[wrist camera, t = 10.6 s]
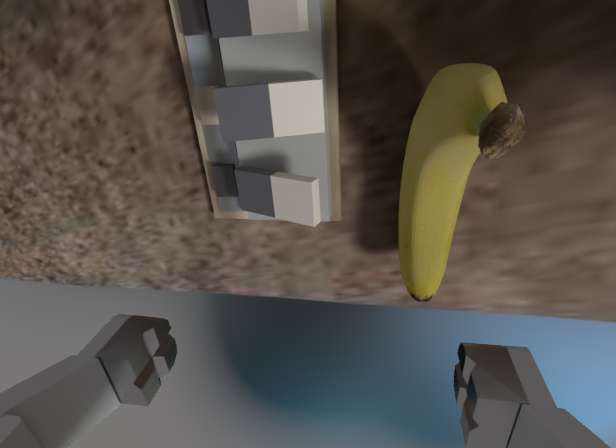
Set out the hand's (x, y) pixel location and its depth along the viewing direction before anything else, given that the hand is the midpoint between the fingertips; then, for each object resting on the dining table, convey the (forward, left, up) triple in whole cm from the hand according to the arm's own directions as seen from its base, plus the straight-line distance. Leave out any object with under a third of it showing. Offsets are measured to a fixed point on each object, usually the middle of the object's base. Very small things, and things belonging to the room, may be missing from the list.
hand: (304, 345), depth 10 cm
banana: (-7, +6, -29) cm, 31 cm away
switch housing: (+7, -2, -29) cm, 30 cm away
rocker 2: (+8, -2, -26) cm, 27 cm away
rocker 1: (+7, -10, -25) cm, 28 cm away
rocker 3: (+7, +6, -26) cm, 27 cm away
